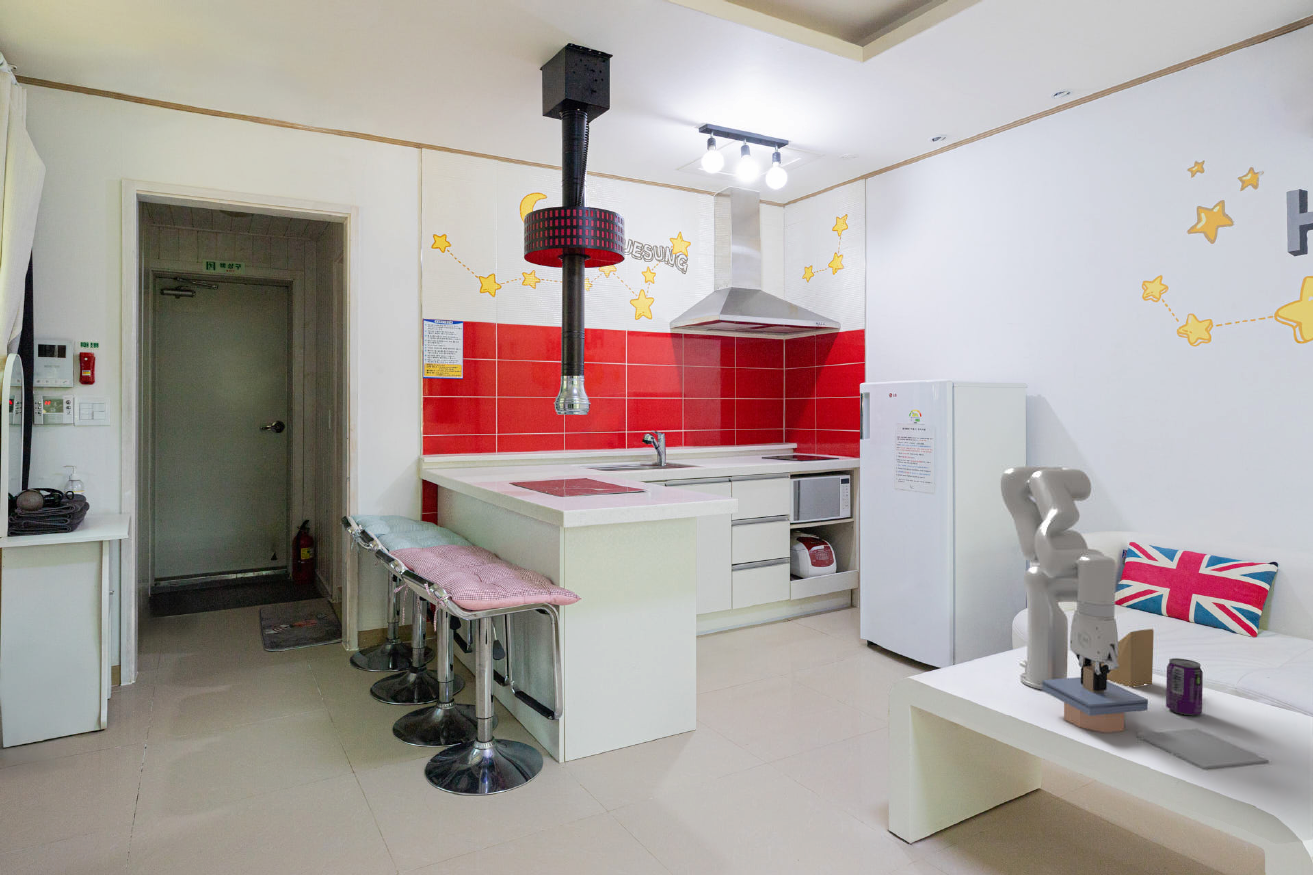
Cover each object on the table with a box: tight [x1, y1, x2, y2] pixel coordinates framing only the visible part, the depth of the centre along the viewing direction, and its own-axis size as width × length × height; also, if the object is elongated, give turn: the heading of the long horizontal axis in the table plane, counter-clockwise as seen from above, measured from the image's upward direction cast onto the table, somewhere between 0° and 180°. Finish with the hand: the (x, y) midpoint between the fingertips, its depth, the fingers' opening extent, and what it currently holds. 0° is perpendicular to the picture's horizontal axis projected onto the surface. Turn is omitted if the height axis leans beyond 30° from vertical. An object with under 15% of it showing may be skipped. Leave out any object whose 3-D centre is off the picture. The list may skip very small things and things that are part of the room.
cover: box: [1041, 666, 1149, 716], centre depth 174 cm, size 15×15×8 cm
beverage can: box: [1165, 657, 1204, 717], centre depth 180 cm, size 7×7×12 cm
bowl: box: [1063, 702, 1126, 733], centre depth 174 cm, size 12×12×5 cm
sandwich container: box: [1092, 628, 1154, 688], centre depth 204 cm, size 9×15×15 cm, turn 20°
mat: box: [1136, 728, 1270, 770], centre depth 159 cm, size 16×16×1 cm
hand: (1093, 686), depth 174 cm, fingers closed on cover, 3 cm apart
